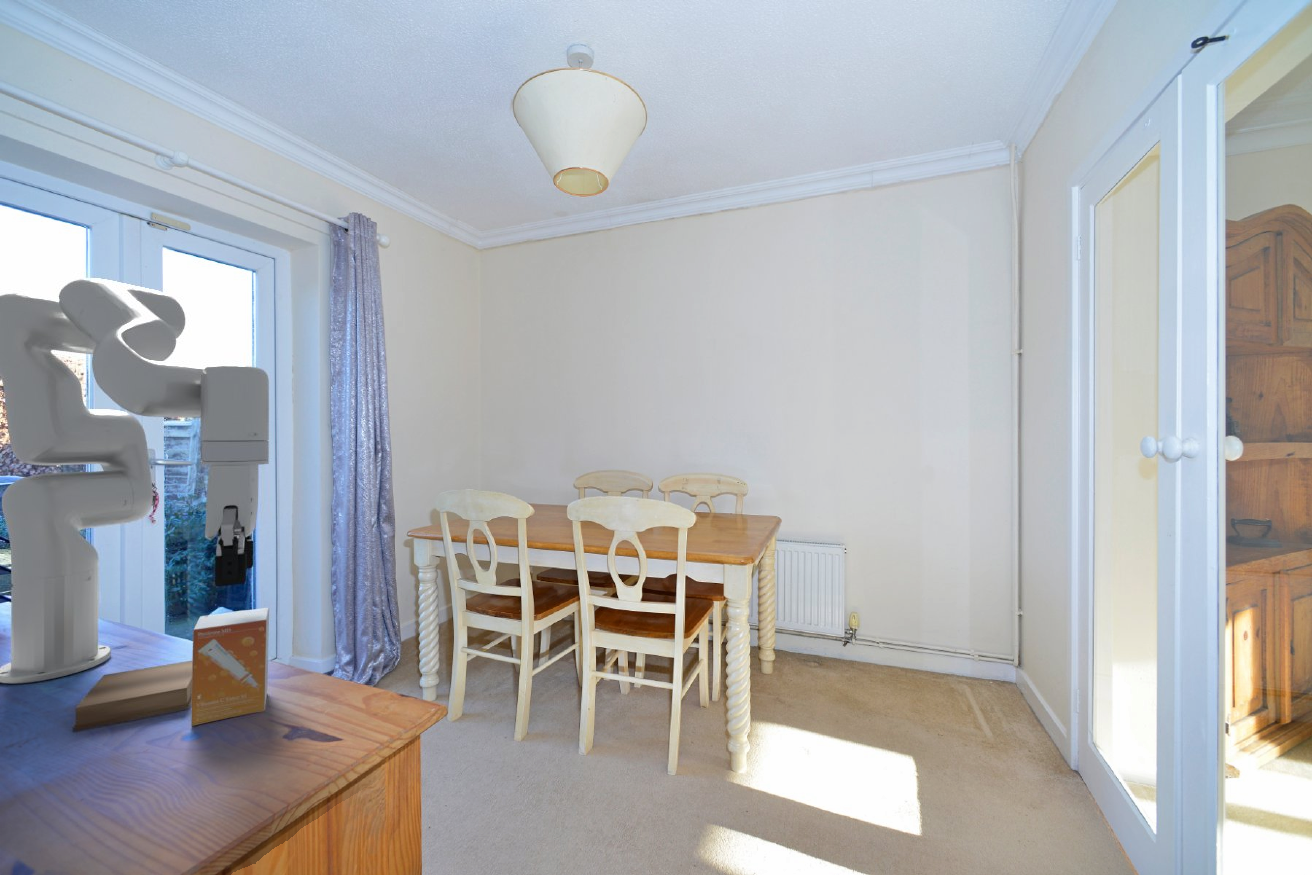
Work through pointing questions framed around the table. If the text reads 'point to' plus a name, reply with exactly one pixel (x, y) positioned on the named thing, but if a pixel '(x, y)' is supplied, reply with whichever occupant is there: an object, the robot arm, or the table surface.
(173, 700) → the plinth
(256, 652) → the small box
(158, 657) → the table surface
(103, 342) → the robot arm
